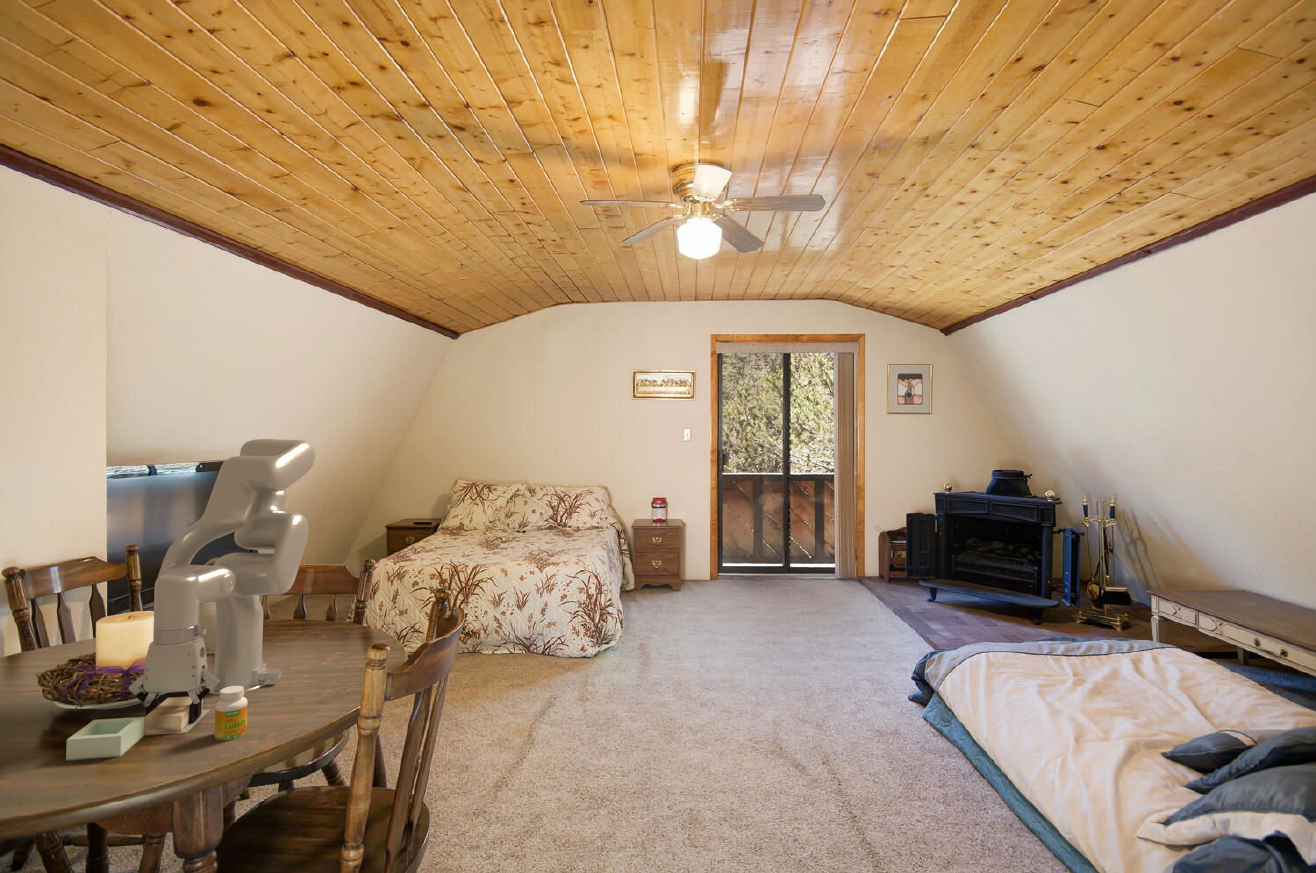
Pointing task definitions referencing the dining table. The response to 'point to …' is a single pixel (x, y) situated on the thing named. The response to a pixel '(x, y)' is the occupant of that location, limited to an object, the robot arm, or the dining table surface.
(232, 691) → the supplement bottle
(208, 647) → the jug
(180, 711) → the wooden block
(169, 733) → the mat
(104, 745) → the sage green tray
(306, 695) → the dining table surface
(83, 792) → the dining table surface
